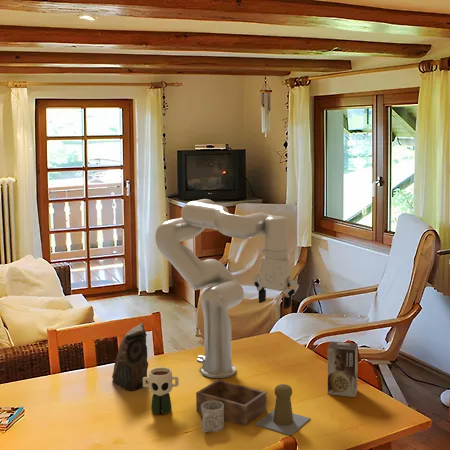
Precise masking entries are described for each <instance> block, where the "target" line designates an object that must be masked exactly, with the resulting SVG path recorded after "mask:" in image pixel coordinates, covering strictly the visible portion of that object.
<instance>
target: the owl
mask: <svg viewBox="0 0 450 450" xmlns="http://www.w3.org/2000/svg"><path fill="white" fill-rule="evenodd" d="M147 335H148V334H147V333H146V330H145V327H144V322H141V323H140V324H139V323H138V325H136V326H134V327H132V328H131V329H130V330H128V331H127V332H126V333H125V335H124V336H122V339H121V341H120V345H119V348H118V352H117V354H116V358H115V361H114V365H113V373H112V376H111V379H112V382H111V383H114V384H115V385H117V386H119V387H121V388H122V389H124V390H125V391H128V392H135V391H138V390H141V389H143V377H148V369H149V362H148V347H147ZM147 382H148V383H149V380H146V383H147Z"/></svg>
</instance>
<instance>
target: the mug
mask: <svg viewBox="0 0 450 450" xmlns="http://www.w3.org/2000/svg"><path fill="white" fill-rule="evenodd" d="M200 418H201V419H200V420H201V421H200V422H201V424H200V425H201V431H202V433H207V432H208V433H217V432H221V431H223V430H224V428H225V419H224V404H223V403H222V402H220V401H206V402H204V403H202V404H201V412H200Z"/></svg>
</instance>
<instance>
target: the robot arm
mask: <svg viewBox="0 0 450 450" xmlns="http://www.w3.org/2000/svg"><path fill="white" fill-rule="evenodd" d="M180 215H181V217H179V218H174V219H169V220H166V221H164V222H162V223H161V224H160V225H158V227H157V228H156V231H155V235H154V237H155V243H156V247H157V249H158V250H159V252H160V253H161V255H162V256H163V257H164V258H165V259H166V260H167V261H168V262H169V263H170V264H171V265H172V266H173V268H175V270H176V271H177V272H178V273H179V274H180V276H181V277H182V278H183V279H184V281H185V282H186V283H188V285H189V286H190V287H191V288H192V289H193V290H198V291H199V290H202V289H205V288H206V289H205V290H204V291H203V292H202V294H201V297H200V305H201V309H202V314H203V329H204V355H202V354H200V355H198V356H197V361H196V362H197V363H198V364H201V365H202V366H201V367H200V373H201V375H203V376H205V377H208V378H212V379H223V378H224V379H226V378H228V377H232V376H233V375H235V374H236V373H237V367H236V366H235V365H234V364H233V363H232V362H233V361H232V360H233V359H232V357H233V356H232V353H233V351H232V348H233V347H232V320H231V318H230V315H229V313H228V310H229V309H231V308H233V307H236V306H238V305H239V304H241V302H242V301H243V300H244V297H245V291H244V288H243V286H242V285H241V283H240V282H239V280H238V279H236V277H235V276H234V275H233V273H232V272H230V270H229V269H228V268H227V267H226V266H225V265H224V264H223V263H222V262H221V261H219V260H218V259H214V258H207V259H204V260H201V259H199V257H198V256H197V255H196V254H195V253H194V251H192V250H191V249H190V248H189V247H187V246H185V245H184V244H182V243H181V242H184V241H189V240H192V239H194V238H196V237H198V235H200V234H201V233H202V232H203V231H204V230H206V229H210V230H213V231H214V230H215V231H218V232H219V233H221V234H222V235H224V236H227V237H231V238H236V239H240V240H241V239H242V240H243V239H244V240H249V239H254V238H257V237H262V236H264V248H262V249H261V253H263V256H262V257H261V259H260V264H259V270H258V271H259V272H258V274H254V275H253V276H252V280H253V285H254V286H255V288H256V290H257V291H258V303H259V304H262V303H264V302H266V300H267V290H266V289H269V290H273V291H278V292H283V294H284V295H285V296H284V297H283V309H284V310H287V309H289V308H290V307H291V305H292V297H293V295H294V294H296V293H297V290H298V289H299V287H300V285H299V284H298V282H297V281H295V280H294V279H292V271H291V269H292V268H291V263H290V259H289V258H288V255H289V253H288V251H289V227H290V226H289V225H290V223H289V218H288V217H286V216H283V215H272V214H270V213H266V212H255V213H251V214H248V215H247V214H246V215H238V214H232V213H229V210H228V208H227V207H226V206H224V205H220V204H216V203H215V202H214V201H213V200H211V199H208V198H203V199H198V200H192V201H189V202H187V203H185V204H184V205H183V207H182V209H181V212H180ZM291 286H292V289H291Z"/></svg>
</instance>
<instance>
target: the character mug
mask: <svg viewBox="0 0 450 450" xmlns="http://www.w3.org/2000/svg"><path fill="white" fill-rule="evenodd" d="M146 380H147V381H148V383H147V382H146ZM173 380H175V381H174V383H173ZM179 383H180V382H179V377H178V376H177V375H176V376H173V371H172V369H171V368H170V367H167V366H165V367H164V366H157V367H154V368H151V369H150V370H149V371H148V376H147V377H143V386H142V387H144V388H149V389H148V390H149V392H150V393H151V394H152V398H151V409H150V410H151V412H152V413H154V414H157V415H159V414H160V412H161V414H162V415H164V414H168V413H169V412H171V410H172V409H173V408H172V407H173V406H172V400H171V395H170V393H171V392H172V389H173V387H174V388H176V387H179Z"/></svg>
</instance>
